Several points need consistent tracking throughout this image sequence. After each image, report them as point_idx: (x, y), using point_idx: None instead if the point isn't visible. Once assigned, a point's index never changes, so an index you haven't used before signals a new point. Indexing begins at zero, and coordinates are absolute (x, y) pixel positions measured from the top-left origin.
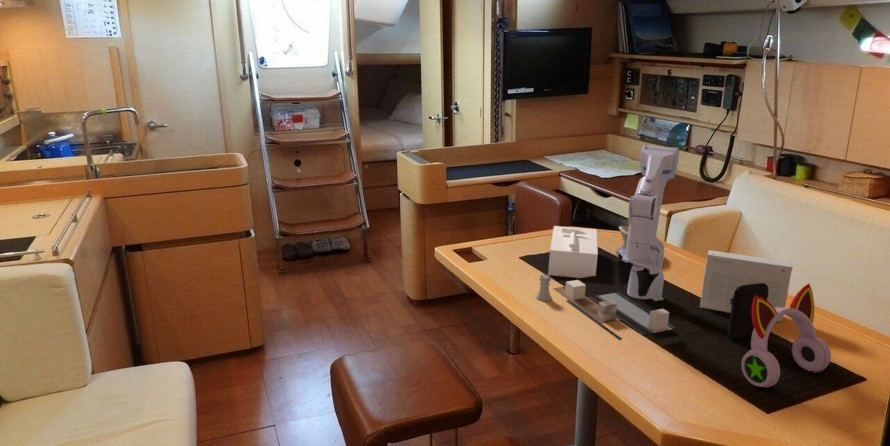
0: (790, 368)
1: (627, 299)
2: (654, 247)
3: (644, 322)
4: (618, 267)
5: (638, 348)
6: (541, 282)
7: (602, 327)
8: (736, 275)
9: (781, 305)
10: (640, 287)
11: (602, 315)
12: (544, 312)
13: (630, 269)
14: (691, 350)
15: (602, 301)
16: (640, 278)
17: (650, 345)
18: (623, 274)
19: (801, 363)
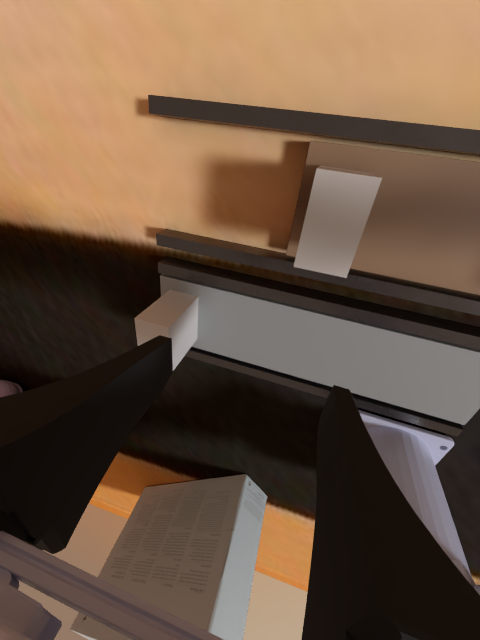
0: (16, 371)
1: (385, 406)
2: None
3: (226, 311)
4: (382, 520)
5: (118, 157)
6: None
7: (274, 108)
8: (160, 586)
9: (130, 519)
10: (107, 362)
11: (326, 167)
12: None
13: (315, 532)
14: (85, 293)
15: (462, 332)
16: (18, 404)
17: (127, 217)
18: (334, 462)
19: (2, 386)
